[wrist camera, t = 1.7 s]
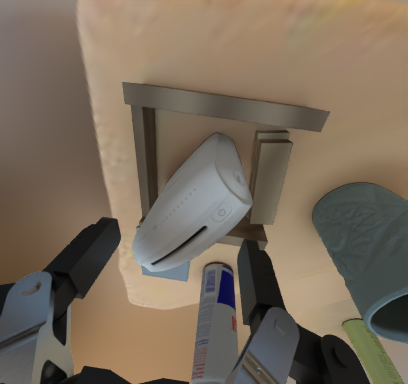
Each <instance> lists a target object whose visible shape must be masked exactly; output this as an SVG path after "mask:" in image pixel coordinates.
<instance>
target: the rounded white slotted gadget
mask: <svg viewBox="0 0 408 384" xmlns="http://www.w3.org/2000/svg"><path fill="white" fill-rule="evenodd" d="M252 203H253V200H252V197H251V194H250V190H249V187H248V184H247V180H246V177H245V174H244V170H243V167H242V164H241V160H240V157H239V155H238V153H237V150H236V147H235V144H234V142H233V141H232V140H231V139H230V138H229V137H228V136H226V135H222V134H218V132H216V133H215V134H213V135H212V136H210V137H209V138H208V139H207V140H206V141H205V142H204V143H202V144H201V145H200V146H199V147H198V148H197V149H196V150H195V151H194V152H193V153H192V155H191V156H190V157H189V158H188V159H187V160H186V161H185V162H184V163H183V164H182V165H181V166H180V168H179V169H178V170H177V171H176V172H175V173H174V174H173V175H172V177H171V178H170V179H169V180H168V182H167V183H166V185H165V187H164V188H163V190H162V191H161V193H160V195H159V196H158V198H157V200H156V201H155V203H154V205H153V206H152V208H151V210H150V211H149V213H148V215H147V216H146V218H145V220H144V222H143V223H142V225H141V227H140V228H139V230H138V232H137V234H136V236H135V238H134V241H133V246H132V250H133V256H134V258H135V261H136V262H137V264H138V265H142V266H144V267H146V268H147V269H148V270H149V271H150V272H159V271H165V270H169V269H172V268H175V267H177V266H180V265H182V264H184V263H186V262H188V261H190V260H192V259H193V258H195V257H197V256H199V255H200V254H201V253H203V252H204V251H205V250H207V249H208V248H210V247H211V246H212V245H214V244H215V243H216V242H218V241H219V240H220V239H221V238H222V237H224V236H225V235H226V234H227V233H228V232H229V231H230V230H231V229H233V228H234V227H235V226H236V225H237V223H238V222H239V221H240V220H241V219H242V218H243V217H244V216H245V214H246V213H247V212H248V210H249V209H250V208H251V206H252Z"/></svg>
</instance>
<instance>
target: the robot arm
mask: <svg viewBox="0 0 408 384" xmlns="http://www.w3.org/2000/svg"><path fill="white" fill-rule="evenodd" d="M120 240H121V234H120V229H119V225H118V220H117V219H114V218H108V217H102V218H101V219H100V220H99V221H98V222H97V223H96V224H92V225H90V226H88V227H87V228H85V229H83V230H82V231H81V232H80V233H79V234H78V235H77V236H76V238H74V239H73V240H72V241H71V242H70V244H69V245H67V246H66V248H64V249H63V250H62V252H61V253H60V254H59V255H58V256H57V257H56V258H55V259H54V260H53V261H52V262H51V263H50V264H49V265H48V266H47V267H46V268H45V269H44V270H42V271H41V272H36V273H32V274H30V275H28V276H26V277H24V278H22V279H21V280H19V281H18V282H17V283H10V284H5V285H0V384H131V383H129V382H128V381H126V380H125V379H123V378H122V377H120V376H118V375H117V374H115V373H114V372H112V371H111V370H108V369H100V368H95V367H89V366H84V367H83V369H82V371H81V373H79V374H76V375H74V365H73V357H72V353H71V349H70V319H71V318H70V317H71V306H70V303H71V302H72V301H73V299H74V298H80V299H83V298H84V297H85V295H86V294H87V292H88V291H89V289H90V288H91V286H92V285H93V283H94V282H95V280H96V279H97V277H98V276H99V274H100V272H101V271H102V269H103V268H104V266H105V265H106V263H107V262H108V260H109V259H110V257H111V256H112V254H113V253H114V251H115V250H116V248H117V247H118V245H119V243H120ZM237 265H238V275H239V285H240V295H241V306H242V316H243V324H244V325H249V326H250V330H251V335H250V336H249V338H248V340H247V342H246V344H245V346H244V348H243V350H242V352H241V354H240V356H239V357H238V359H237V361H236V363H235V365H234V367H233V369H232V371H231V373H230V374H229V376H228V378H227V379H226V381H225V383H224V384H286V382H287V378H288V376H289V377H291V378H293V379H294V380H296V384H370V382H369V380H368V378H367V376H366V373H365V371H364V369H363V367H362V365H361V363H360V361H359V359H358V357H357V356H356V354H355V353H354V351H353V350H352V349H351V348H350V346H349V345H348V344H346V343H345V342H344V341H343V340H342V339H340V338H338V337H337V336H334V335H330V334H329V335H325V336H323V337H320V336H318V335H316V334H315V333H313V332H311V331H309V330H307V329H305V328H303V327H301V326H300V325H299V324H297V323H296V322H295V320H294V319H293V317H292V316H291V315H290V314H289V313H288V312H287V310H286V308H285V305H284V302H283V299H282V296H281V293H280V289H279V285H278V282H277V279H276V277H275V272H274V269H273V265H272V262H271V259H270V257H269V256H268V254H267V253H266V251H264V250H260V249H259V245H258V242H257V240H251V239H244V240H243V242H242V245H241V248H240V251H239V253H238V259H237ZM140 384H189V382H184V381H178V380H172V379H165V378H162V379H158V380H153V381H149V382H145V383H140Z"/></svg>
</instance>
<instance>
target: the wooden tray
mask: <svg viewBox="0 0 408 384" xmlns="http://www.w3.org/2000/svg"><path fill="white" fill-rule="evenodd" d="M122 84H123V93H124V101H125V104H128V105H131V111H132V121H133V130H134V140H135V149H136V159H137V169H138V178H139V188H140V197H141V207H142V216H143V217H142V218H141V220H140V222H139V224H140V227H141V225H142V223H143V222H144V220H145V218H146V216H147V215H148V213H149V211H150V210H151V208H152V206H153V205H154V203H155V201H156V200H157V198H158V194H157V168H156V141H155V115H154V108H156V109H163V110H170V111H177V112H184V113H191V114H198V115H205V116H212V117H219V118H226V119H233V120H239V121H246V122H253V123H260V124H267V125H274V126H281V127H288V128H295V129H302V130H309V131H316V132H321V130H322V128H323V126H324V124H325V122H326V120H327V117H328V115H329V113H330V111H324V110H319V109H314V108H309V107H302V106H295V105H288V104H281V103H274V102H267V101H260V100H253V99H246V98H239V97H232V96H225V95H218V94H211V93H204V92H197V91H189V90H182V89H175V88H168V87H161V86H154V85H147V84H138V83H127V82H122ZM244 239H251V240H257V242H258V245H259V249H261V250H264V249H265V247H266V245H267V243H268V241H267V238H266V234H265V231H264V228H263V224H250V222H249V218H244V217H243V218H242V219H241V220H240V221H239V222H238V223H237V225H236V226H235V227H234V228H233V229H231V230H230V231H229V232H228V233H227V234H226V235H225V236H224V237H222V238H221V239H220V240H219V241H218V242H216V243H222V244H229V245H235V246H241V245H242V242H243V240H244Z"/></svg>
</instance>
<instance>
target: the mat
mask: <svg viewBox="0 0 408 384" xmlns="http://www.w3.org/2000/svg"><path fill="white" fill-rule="evenodd" d="M139 228H140V226H137V227H136V229H137V232H138V230H139ZM189 262H190V261H188V262H186V263H184V264H182V265H180V266H177V267H175V268H172V269H169V270H165V271H159V272H150V271H149V270H148V269H147V268H146V267H144V266H142V265H141V266H142V273H143V275H148V276H154V277H161V278H167V279H173V280H179V281H186V282H187V279H188V270H189Z"/></svg>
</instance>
